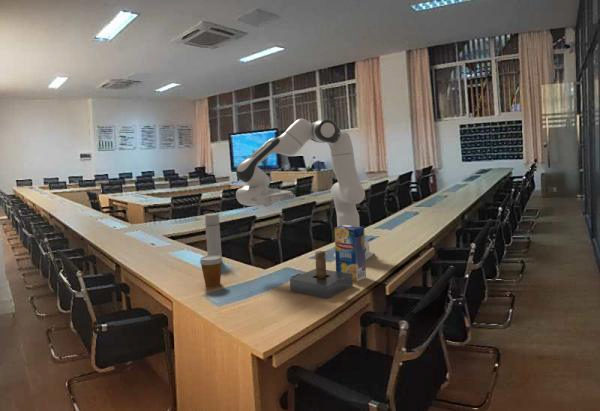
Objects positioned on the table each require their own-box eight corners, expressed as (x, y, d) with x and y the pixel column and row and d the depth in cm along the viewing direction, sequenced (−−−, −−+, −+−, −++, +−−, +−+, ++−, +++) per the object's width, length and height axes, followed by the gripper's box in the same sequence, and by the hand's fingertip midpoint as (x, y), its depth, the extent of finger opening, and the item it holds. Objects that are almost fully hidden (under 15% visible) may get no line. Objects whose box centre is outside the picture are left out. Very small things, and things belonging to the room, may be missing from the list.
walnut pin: (320, 284, 182) (319, 250, 181) (328, 285, 180) (327, 251, 178) (314, 286, 179) (313, 252, 177) (323, 288, 177) (321, 253, 175)
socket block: (316, 279, 192) (316, 268, 192) (352, 285, 181) (352, 273, 180) (290, 291, 178) (289, 279, 178) (327, 298, 167) (327, 285, 166)
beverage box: (345, 273, 199) (344, 225, 197) (366, 277, 192) (364, 227, 189) (336, 277, 195) (334, 227, 192) (356, 281, 187) (354, 229, 184)
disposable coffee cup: (199, 283, 194) (197, 256, 193) (221, 280, 198) (219, 253, 197) (204, 289, 186) (201, 261, 184) (226, 285, 189) (224, 258, 188)
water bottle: (225, 261, 231) (221, 214, 228) (210, 264, 227) (207, 216, 223) (217, 258, 239) (214, 212, 235) (203, 261, 234) (200, 214, 231)
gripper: (247, 192, 196) (271, 193, 188) (278, 188, 212) (301, 188, 204) (248, 206, 197) (272, 208, 189) (279, 201, 213) (301, 202, 205)
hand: (287, 198), depth 196 cm, fingers open, 8 cm apart
